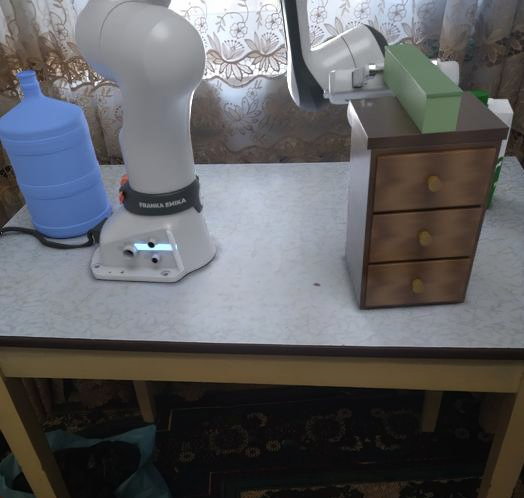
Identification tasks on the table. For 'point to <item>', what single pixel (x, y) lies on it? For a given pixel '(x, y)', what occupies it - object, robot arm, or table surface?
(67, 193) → the water jug
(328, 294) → the table surface
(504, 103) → the milk carton
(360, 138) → the drawer unit
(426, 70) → the storage box
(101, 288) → the table surface
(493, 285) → the table surface
